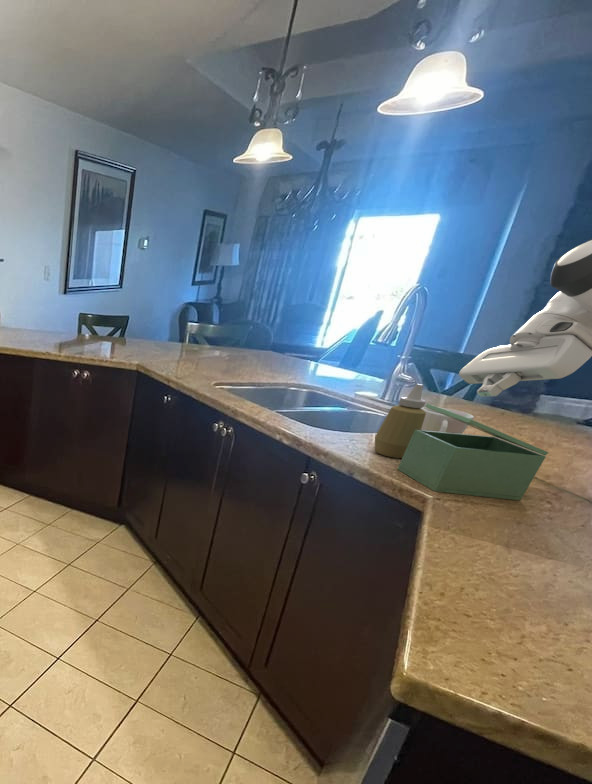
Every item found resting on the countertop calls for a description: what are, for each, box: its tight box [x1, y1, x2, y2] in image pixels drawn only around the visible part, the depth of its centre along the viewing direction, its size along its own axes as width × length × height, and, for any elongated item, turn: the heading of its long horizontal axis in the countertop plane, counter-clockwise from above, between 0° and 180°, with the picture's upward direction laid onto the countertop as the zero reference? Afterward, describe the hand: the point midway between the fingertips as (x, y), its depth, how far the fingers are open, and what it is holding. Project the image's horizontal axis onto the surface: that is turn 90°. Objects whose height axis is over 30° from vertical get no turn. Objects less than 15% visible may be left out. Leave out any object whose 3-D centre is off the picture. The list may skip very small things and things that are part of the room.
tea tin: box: [396, 430, 547, 501], centre depth 105 cm, size 16×13×10 cm
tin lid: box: [424, 403, 549, 457], centre depth 102 cm, size 16×13×1 cm
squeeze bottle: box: [374, 383, 427, 459], centre depth 120 cm, size 8×8×18 cm
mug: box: [421, 406, 475, 434], centre depth 127 cm, size 10×15×10 cm
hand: (485, 394), depth 100 cm, fingers closed
